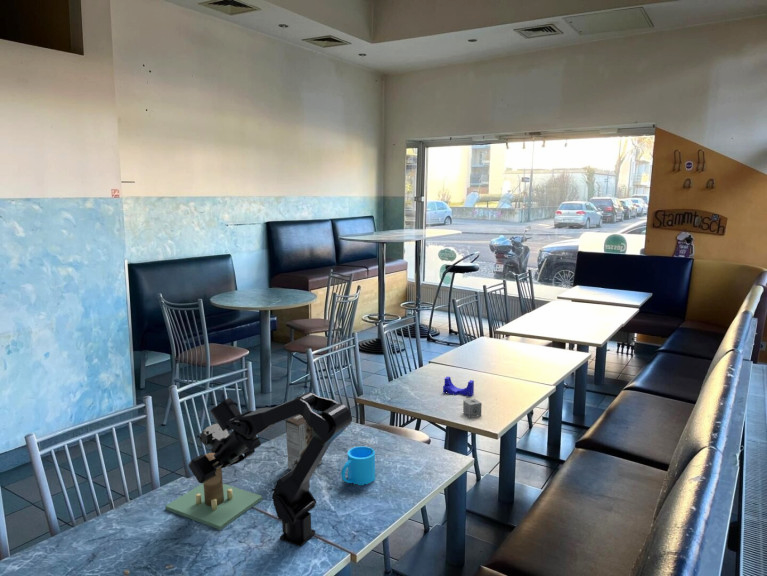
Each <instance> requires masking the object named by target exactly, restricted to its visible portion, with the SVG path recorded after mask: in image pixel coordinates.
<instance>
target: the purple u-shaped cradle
mask: <svg viewBox="0 0 767 576" xmlns="http://www.w3.org/2000/svg"><path fill="white" fill-rule="evenodd" d="M474 385H475V381H474V380H473V379H472V380H471V379H470V380H468V382H467V385H466V387H465V388H464V387H463V388H460V387H457V386H456V385H454V384H453V382H452V379H451V376H446V377H445V378H444V384H443V386H442V393H443V392H444V393H443V394H447V393H450V395H453V394H454V396H457V395H461V394H462V395H463V396H467V395H468V396H469V397H472V396H474V395H475V394H474V393H475V386H474ZM446 392H447V393H446ZM468 396H467V397H468Z"/></svg>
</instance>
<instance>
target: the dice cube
mask: <svg viewBox="0 0 767 576" xmlns="http://www.w3.org/2000/svg"><path fill="white" fill-rule="evenodd" d="M462 403H463V404H462V411H463V412H464V413H463V414H465V413H466V414H467V415H468V416H467V415H466V414H465V415H466V416H467V417H469V416H470V417H469V418H472V417H471V416H474V417H478V416H477V415H480V416H482V404H483V403H482V402H481V401H479V400H478V399H476V398H470V399H465V400H464V399H463V402H462Z"/></svg>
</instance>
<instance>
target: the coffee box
mask: <svg viewBox="0 0 767 576" xmlns="http://www.w3.org/2000/svg"><path fill="white" fill-rule="evenodd" d="M285 433H286V434H285V435H286V454H287V456H286V457H287V468H288V470H290V469H291V470H290V471H292V470H293V469H294V468H295V467H296V465H297V463H298V461H299V460H300V458H301V456H302V454H303V453H304V451H305V449H306V447H307V446H308V444H309V442H310V440H311V439H312V437H313V432H312V427H310V426H309V425H308V424H307V423H306V421H305V419H304V418H303V416H301V415H300V414H298V415H295V416H293V417H290V418H288V419H285ZM321 464H323V458H322V459H321V461H320V463H319V464H318V466H319V465H321Z"/></svg>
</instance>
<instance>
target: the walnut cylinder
mask: <svg viewBox="0 0 767 576" xmlns="http://www.w3.org/2000/svg"><path fill="white" fill-rule="evenodd" d="M214 454H215V453H212V452H209V453H206V454H205V455H206V457H207V458H208V460H209V461H211V460H213V459H215V457H214V456H213V455H214ZM218 463H219V462H218ZM216 464H217V463H216ZM214 465H215V464H214ZM214 465H213V466H214ZM216 469H217V470H216V472H215V474H216V476H214V477H213V478H211V479H209V480H207V481H206V482H204V483H202V484H203V486H204V497H205V504H206V505H207V506H212V505H211V500H212V499H217V505H219V504H221V503H222V502H223V501H224V493H223V484H224V483H223V470H222V469H223V468H221V466H220V467H218V468H216Z"/></svg>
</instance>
